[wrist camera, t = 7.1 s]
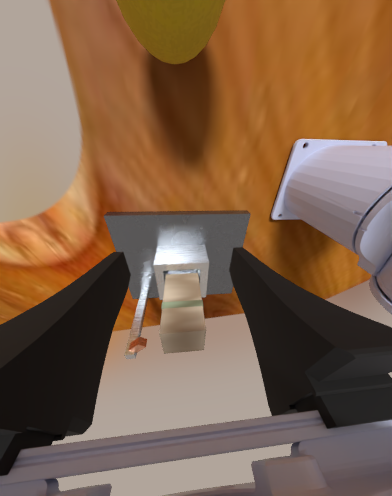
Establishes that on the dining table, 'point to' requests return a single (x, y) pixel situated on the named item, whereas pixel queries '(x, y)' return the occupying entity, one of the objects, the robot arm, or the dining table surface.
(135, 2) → the lemon
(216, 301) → the dining table surface
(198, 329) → the block
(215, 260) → the stand
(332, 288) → the dining table surface
